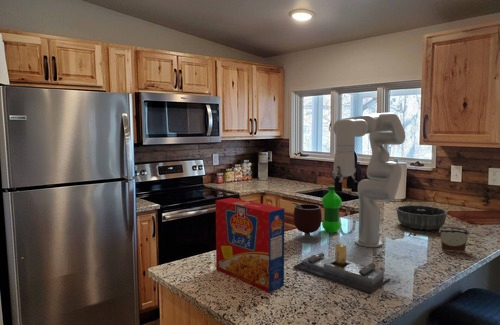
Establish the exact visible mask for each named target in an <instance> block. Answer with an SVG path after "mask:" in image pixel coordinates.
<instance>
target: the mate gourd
mask: <svg viewBox="0 0 500 325" xmlns="http://www.w3.org/2000/svg"><path fill="white" fill-rule="evenodd" d="M292 204H293V205H294V209H293V223H294V226H295V228H296V229H297V230H298V231H299V232H302V233H304V234H302V235H297V236H296V237H294V241H296V242H297V243H300V244H304V245H305V244H306V245H314V244H317V243H319V242H320V241H321V240H320V238H319V237H318V236H315V235H311V234H312V233H315V232H318V230H319V229H320V228H321V226H322V221H323V220H322V219H323V218H322V215H323V214H322V207H321V206H320V205H318V204H312V203H299V204H298V203H297V202H294V201H292Z"/></svg>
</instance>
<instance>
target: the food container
mask: <svg viewBox="0 0 500 325" xmlns="http://www.w3.org/2000/svg"><path fill="white" fill-rule="evenodd" d="M438 233H440V244H441V245H440V246H441V251H450V252H452V251H453V252H462V253H463V252H464V253H465V252H466V247H467V241H468V236H470V232H469V229H466V228H463V227H458V226H454V225H452V226H449V225H448V226H447V225H446V226H444V225H443V226H442V227H441V228H439V231H438Z"/></svg>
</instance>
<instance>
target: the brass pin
mask: <svg viewBox="0 0 500 325" xmlns="http://www.w3.org/2000/svg"><path fill="white" fill-rule="evenodd" d="M334 249H335V250H334V251H335V252H334V253H335V255H334V259H335V265H336V266H339V267H342V268H344V267H346V261H347V245H345V244H341V243H339V244H335V248H334Z"/></svg>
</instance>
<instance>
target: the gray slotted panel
mask: <svg viewBox="0 0 500 325" xmlns="http://www.w3.org/2000/svg"><path fill="white" fill-rule="evenodd" d="M293 267H294V269H295V270H298V271H301V272H304V273H307V274H311V275H314V276H315V277H318V278H322V279H325V280H327V281H330V282H333V283H336V284H339V285H343V286H344V287H349V288H351V289H354V290H357V291H359V292H362V293H366V294H368V295H372V293H374V292H375V291H377V290H379V289H380V288H381V287H383V286H384V285H385V284H386V283H388V282H389V281H391V276H387V275H384V271H383V270H382V269H381V270H380V269H377V265H376V264H375V263H374V262H372V263H369V264H368V265H367V266H366V265H362V264H359V263H355V262H352V261H348V260H346V267H344V268H342V267H339V266H336V265H335V258H332V259H331V258H326V257H325V253H324V252H319V253H318V254H314V255H313V254H312V255H310V256H308V257H306V258H303V259H302V260H301V262H300V263H297V264H295V265H294V266H293Z"/></svg>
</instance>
